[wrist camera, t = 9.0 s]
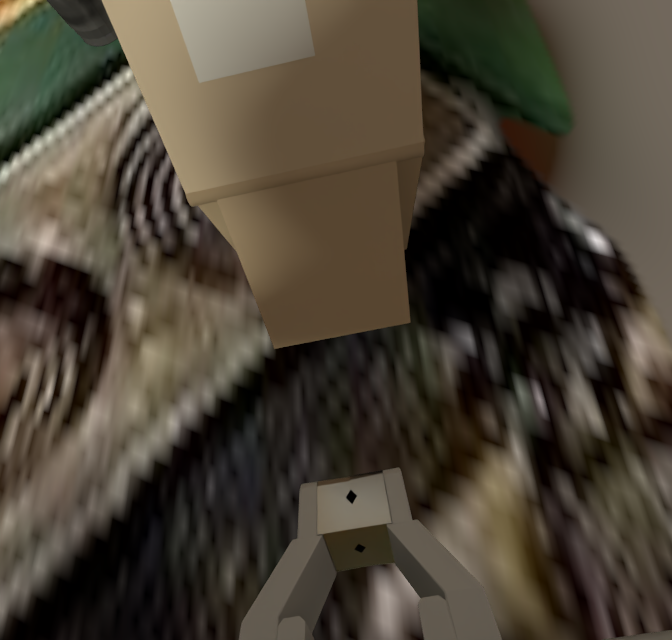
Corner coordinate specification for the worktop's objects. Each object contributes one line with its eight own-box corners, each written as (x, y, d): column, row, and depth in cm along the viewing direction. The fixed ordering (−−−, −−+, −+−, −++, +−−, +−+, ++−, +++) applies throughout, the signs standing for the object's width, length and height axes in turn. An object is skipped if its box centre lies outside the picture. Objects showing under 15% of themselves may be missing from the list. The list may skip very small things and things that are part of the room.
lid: (428, 311, 22) (431, 319, 21) (255, 344, 23) (254, 353, 22) (389, -451, 9) (396, -491, 8) (-27, -321, 9) (-52, -349, 9)
